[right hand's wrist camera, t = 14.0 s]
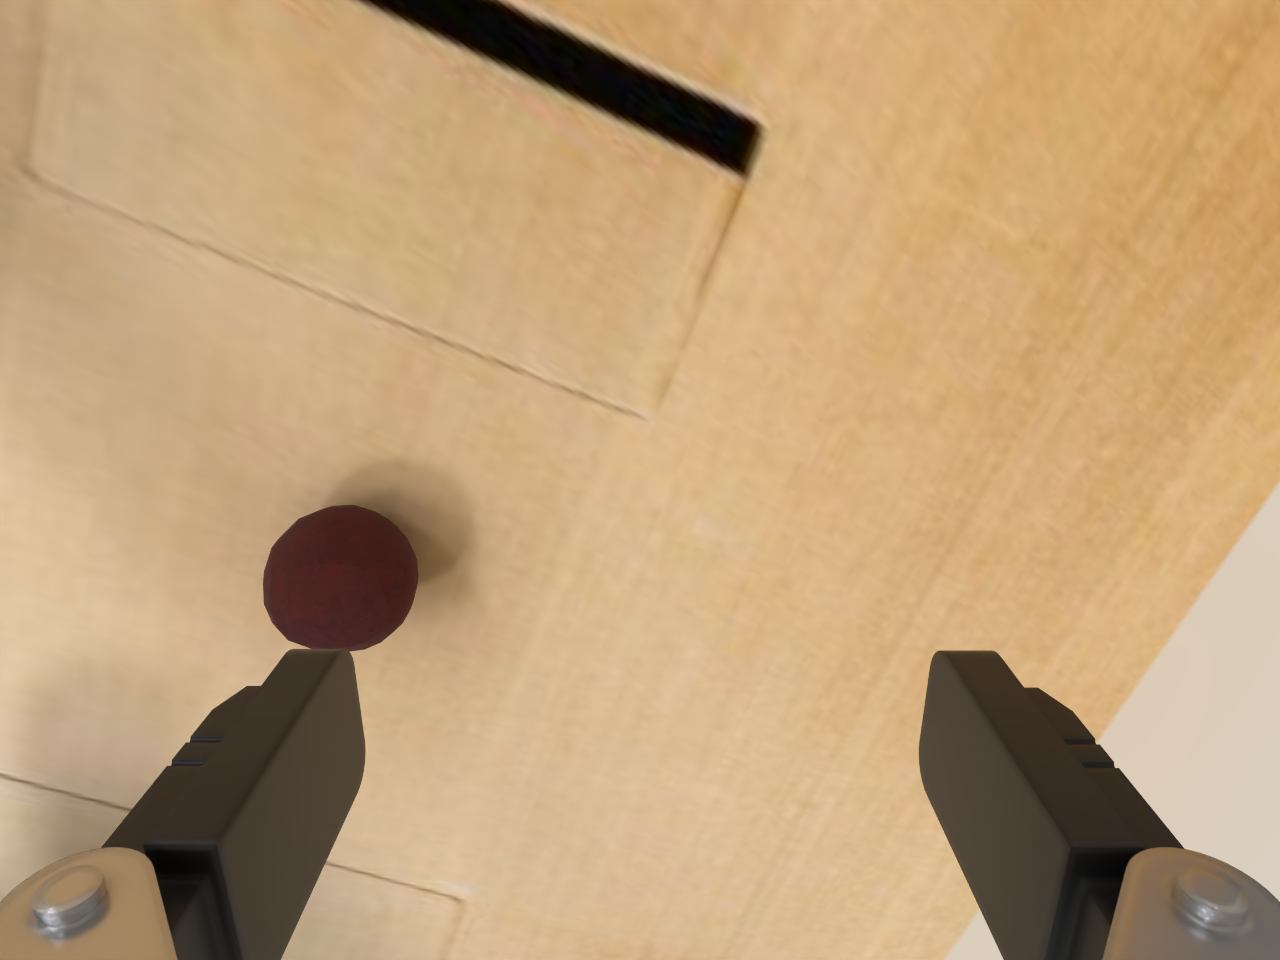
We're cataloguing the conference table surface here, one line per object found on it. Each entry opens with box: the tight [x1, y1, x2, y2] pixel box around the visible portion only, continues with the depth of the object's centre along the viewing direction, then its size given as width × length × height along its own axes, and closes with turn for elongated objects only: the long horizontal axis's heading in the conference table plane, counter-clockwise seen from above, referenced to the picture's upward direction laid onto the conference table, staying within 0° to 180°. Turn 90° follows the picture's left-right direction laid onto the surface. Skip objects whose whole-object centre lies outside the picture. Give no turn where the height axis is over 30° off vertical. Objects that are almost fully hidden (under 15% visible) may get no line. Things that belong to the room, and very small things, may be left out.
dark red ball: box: [263, 505, 418, 651], centre depth 42 cm, size 7×8×7 cm
